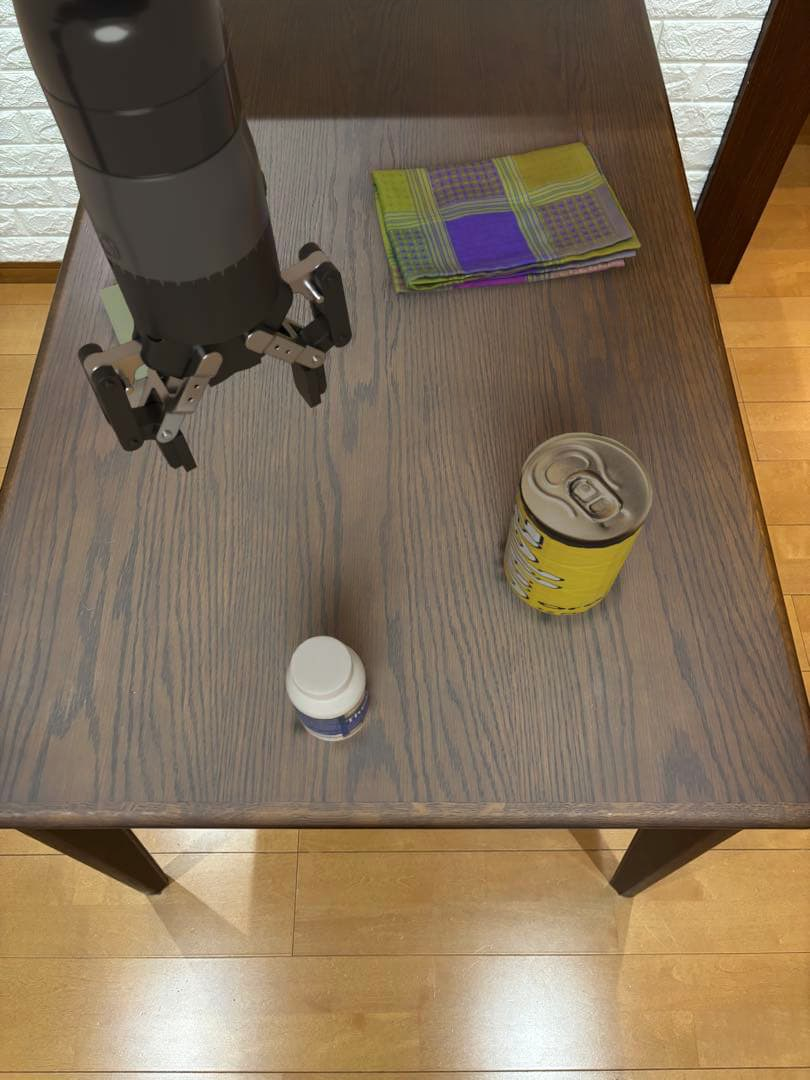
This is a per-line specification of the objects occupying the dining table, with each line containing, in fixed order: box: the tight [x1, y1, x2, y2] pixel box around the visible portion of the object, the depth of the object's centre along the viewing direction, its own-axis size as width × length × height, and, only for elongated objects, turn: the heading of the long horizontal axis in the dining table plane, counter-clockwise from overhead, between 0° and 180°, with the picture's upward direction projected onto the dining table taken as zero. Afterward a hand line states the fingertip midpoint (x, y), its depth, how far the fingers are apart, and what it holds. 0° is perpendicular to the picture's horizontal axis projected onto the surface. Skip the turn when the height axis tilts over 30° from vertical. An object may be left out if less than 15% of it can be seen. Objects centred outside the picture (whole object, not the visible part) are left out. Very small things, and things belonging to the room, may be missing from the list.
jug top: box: [98, 283, 148, 381], centre depth 77 cm, size 11×10×4 cm
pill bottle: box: [285, 635, 371, 742], centre depth 57 cm, size 5×5×10 cm
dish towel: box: [370, 141, 642, 296], centre depth 83 cm, size 18×24×3 cm
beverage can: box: [502, 431, 654, 616], centre depth 61 cm, size 9×9×12 cm
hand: (248, 427), depth 50 cm, fingers open, 8 cm apart
